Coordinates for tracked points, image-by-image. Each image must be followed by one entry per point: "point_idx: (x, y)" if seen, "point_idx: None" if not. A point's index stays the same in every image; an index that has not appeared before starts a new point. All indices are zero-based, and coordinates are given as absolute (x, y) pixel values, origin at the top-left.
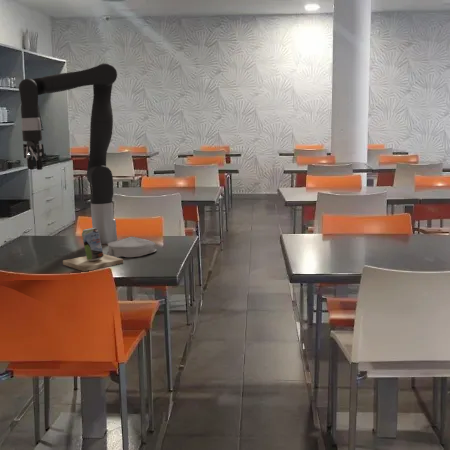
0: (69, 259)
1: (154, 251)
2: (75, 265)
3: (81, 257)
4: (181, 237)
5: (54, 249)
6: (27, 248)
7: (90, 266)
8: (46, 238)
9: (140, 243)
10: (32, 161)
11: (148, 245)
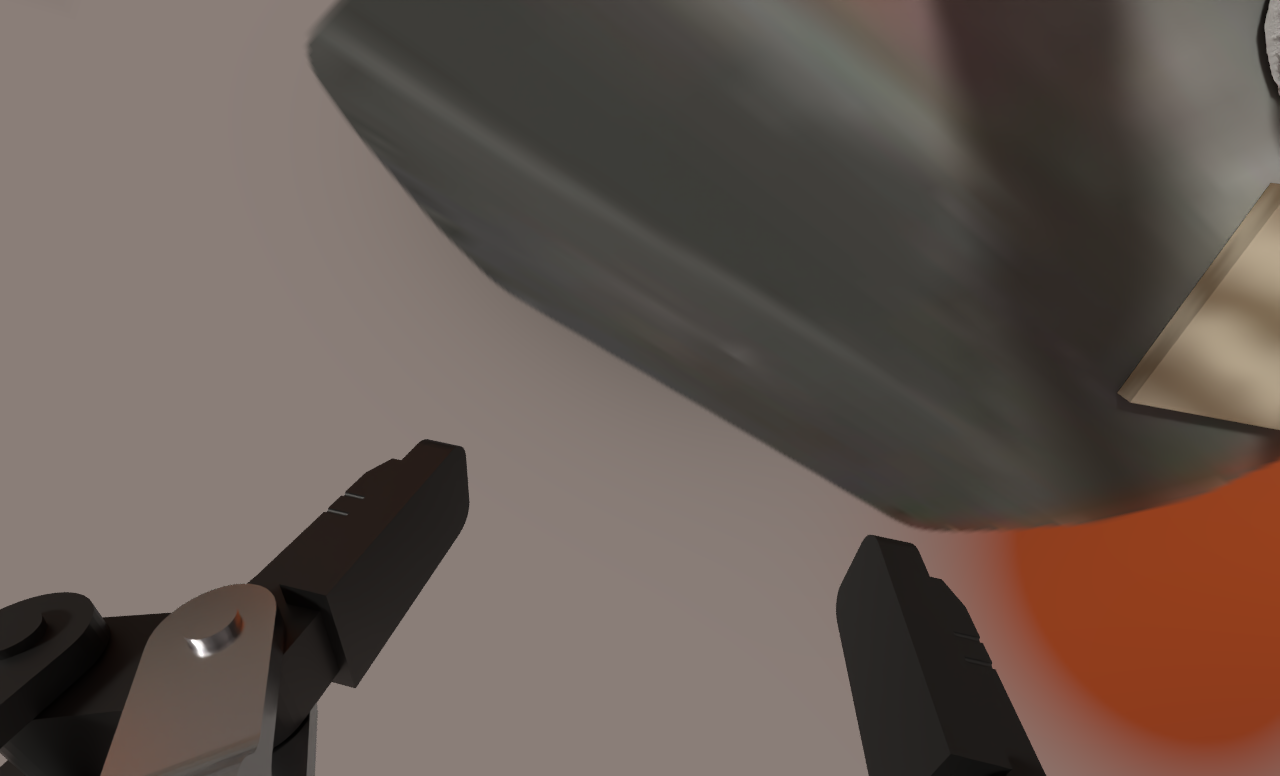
0: (1156, 375)
1: None
2: (1260, 424)
3: (1207, 319)
4: None
5: (801, 200)
6: (643, 262)
7: None
8: (468, 11)
9: None
10: (362, 564)
11: None
